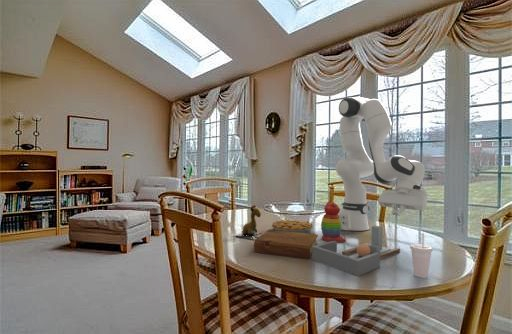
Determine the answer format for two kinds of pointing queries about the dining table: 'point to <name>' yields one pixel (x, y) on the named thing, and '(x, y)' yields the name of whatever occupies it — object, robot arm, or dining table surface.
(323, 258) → the grey walled tray
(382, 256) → the lane
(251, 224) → the stuffed giraffe
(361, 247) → the ball
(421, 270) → the smoothie
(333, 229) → the stacking bear
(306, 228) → the pie
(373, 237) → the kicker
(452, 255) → the dining table surface
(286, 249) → the diary
